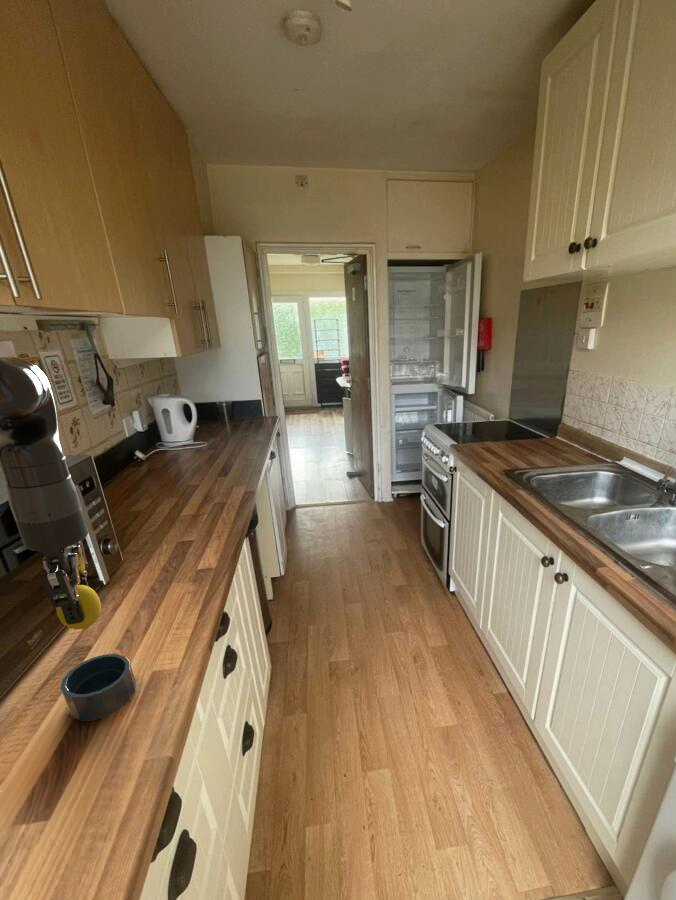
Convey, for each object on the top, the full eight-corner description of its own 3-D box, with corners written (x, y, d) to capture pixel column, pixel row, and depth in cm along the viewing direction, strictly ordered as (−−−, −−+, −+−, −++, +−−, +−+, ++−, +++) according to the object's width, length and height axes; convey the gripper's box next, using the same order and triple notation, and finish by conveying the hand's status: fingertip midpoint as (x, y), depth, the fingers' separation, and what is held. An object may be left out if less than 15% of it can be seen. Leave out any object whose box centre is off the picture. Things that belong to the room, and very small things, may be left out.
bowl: (56, 724, 66) (46, 698, 64) (91, 678, 75) (83, 654, 73) (118, 722, 67) (110, 696, 65) (146, 677, 76) (140, 653, 73)
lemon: (55, 637, 65) (39, 593, 62) (84, 615, 70) (71, 573, 67) (86, 642, 64) (73, 598, 61) (114, 619, 69) (102, 577, 66)
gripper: (70, 526, 55) (102, 632, 61) (88, 489, 67) (113, 581, 73) (-3, 536, 52) (38, 646, 59) (29, 496, 64) (60, 591, 70)
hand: (80, 609), depth 66 cm, fingers closed on lemon, 5 cm apart
